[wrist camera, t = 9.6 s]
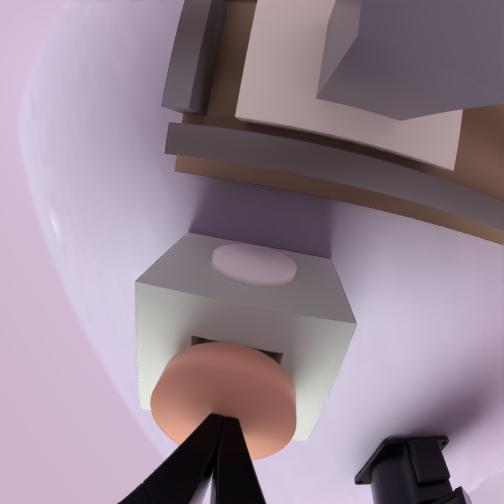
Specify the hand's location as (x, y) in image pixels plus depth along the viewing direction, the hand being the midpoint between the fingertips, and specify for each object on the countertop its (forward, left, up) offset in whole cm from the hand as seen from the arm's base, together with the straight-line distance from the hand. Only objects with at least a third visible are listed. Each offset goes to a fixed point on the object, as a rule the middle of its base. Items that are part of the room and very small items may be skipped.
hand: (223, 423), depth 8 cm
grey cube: (0, 0, -8) cm, 8 cm away
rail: (+11, -8, -8) cm, 16 cm away
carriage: (+11, -2, -6) cm, 13 cm away
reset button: (0, 0, -4) cm, 4 cm away
